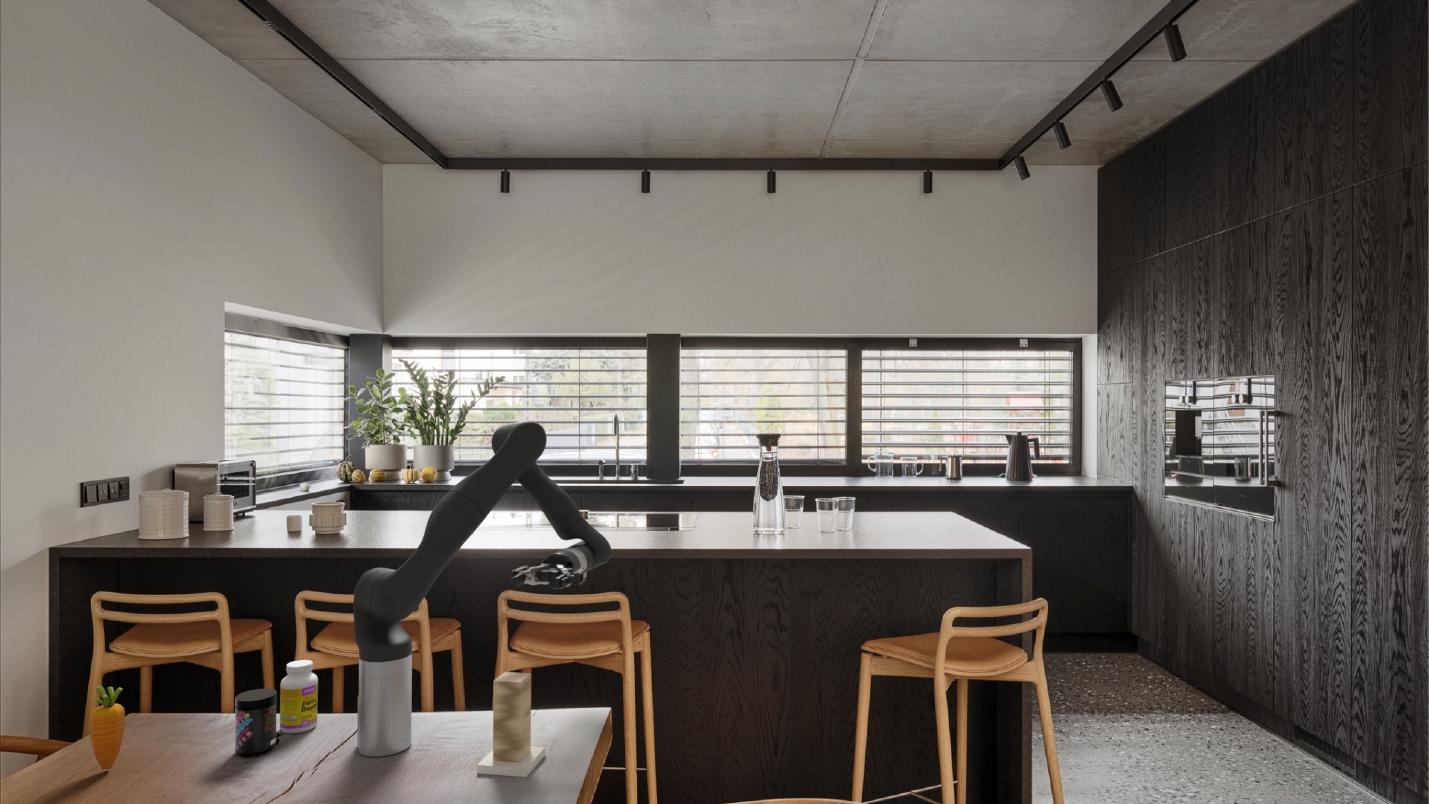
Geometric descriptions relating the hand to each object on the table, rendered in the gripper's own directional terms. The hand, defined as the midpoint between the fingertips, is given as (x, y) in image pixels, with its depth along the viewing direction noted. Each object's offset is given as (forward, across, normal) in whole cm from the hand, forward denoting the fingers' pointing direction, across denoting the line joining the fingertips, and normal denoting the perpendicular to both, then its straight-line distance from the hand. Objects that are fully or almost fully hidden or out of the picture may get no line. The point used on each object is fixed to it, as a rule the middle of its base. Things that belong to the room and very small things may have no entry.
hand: (536, 583), depth 156 cm
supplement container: (+13, -49, +30) cm, 59 cm away
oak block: (+11, 0, +28) cm, 31 cm away
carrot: (+25, -69, +30) cm, 79 cm away
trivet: (+11, 0, +30) cm, 32 cm away
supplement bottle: (+2, -48, +30) cm, 57 cm away
